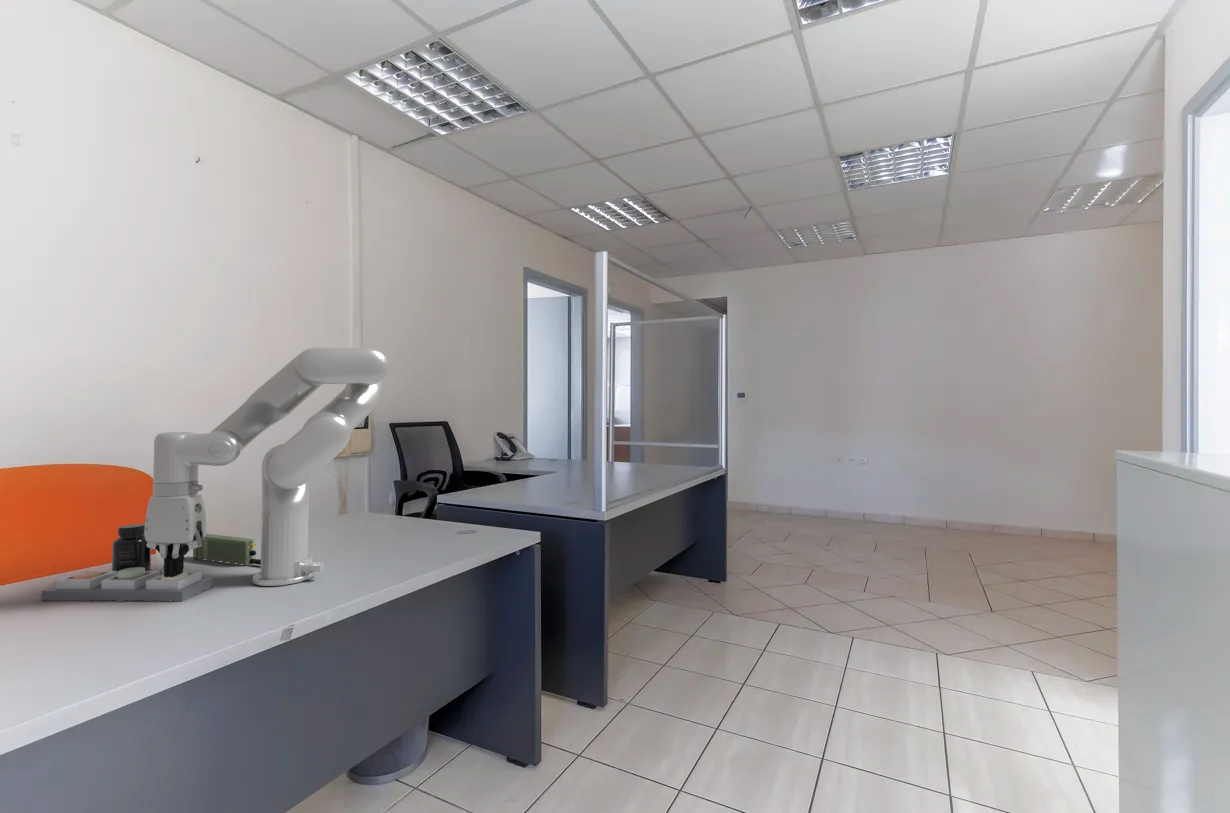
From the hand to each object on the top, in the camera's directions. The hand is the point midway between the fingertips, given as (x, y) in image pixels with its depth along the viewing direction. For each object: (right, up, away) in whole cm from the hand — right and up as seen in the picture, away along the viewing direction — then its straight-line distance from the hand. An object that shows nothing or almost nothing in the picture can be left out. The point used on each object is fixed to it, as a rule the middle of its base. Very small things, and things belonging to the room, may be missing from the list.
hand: (173, 575), depth 117 cm
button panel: (-9, -4, 0) cm, 10 cm away
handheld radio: (-4, -5, +24) cm, 24 cm away
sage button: (-9, -1, 0) cm, 9 cm away
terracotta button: (-18, -2, 0) cm, 18 cm away
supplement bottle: (-18, -4, +10) cm, 21 cm away
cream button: (0, -2, 0) cm, 2 cm away
